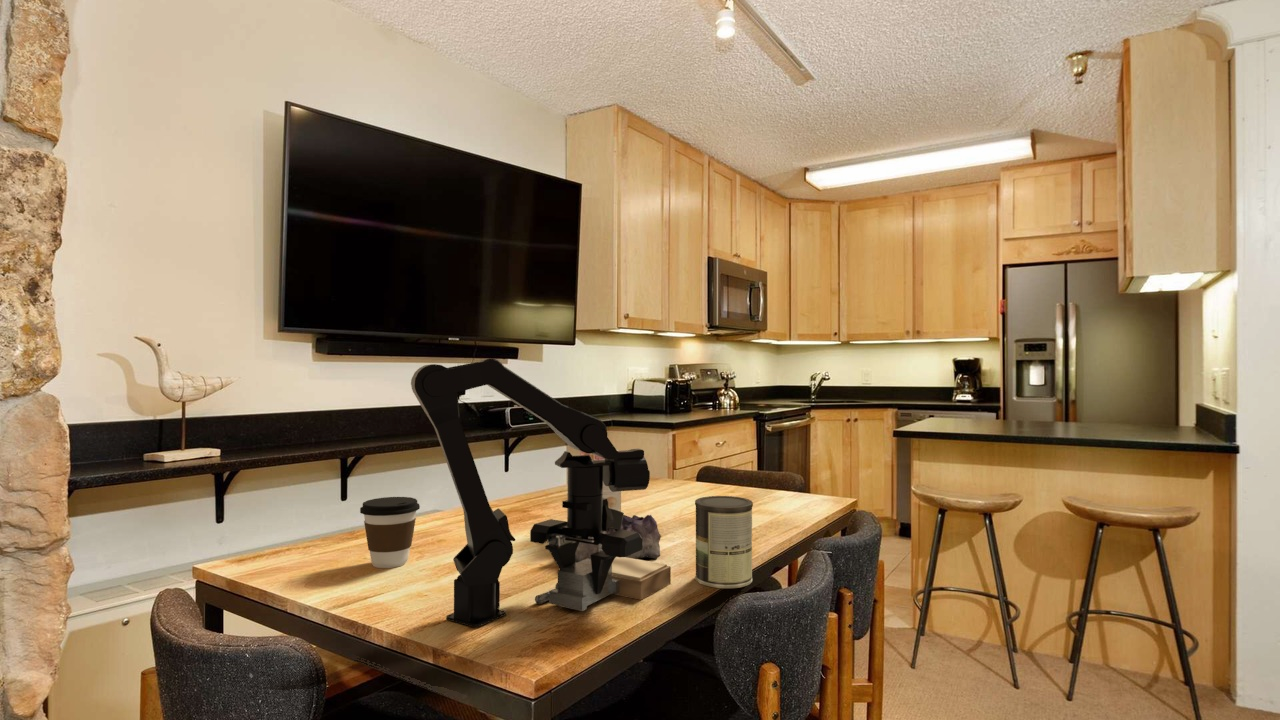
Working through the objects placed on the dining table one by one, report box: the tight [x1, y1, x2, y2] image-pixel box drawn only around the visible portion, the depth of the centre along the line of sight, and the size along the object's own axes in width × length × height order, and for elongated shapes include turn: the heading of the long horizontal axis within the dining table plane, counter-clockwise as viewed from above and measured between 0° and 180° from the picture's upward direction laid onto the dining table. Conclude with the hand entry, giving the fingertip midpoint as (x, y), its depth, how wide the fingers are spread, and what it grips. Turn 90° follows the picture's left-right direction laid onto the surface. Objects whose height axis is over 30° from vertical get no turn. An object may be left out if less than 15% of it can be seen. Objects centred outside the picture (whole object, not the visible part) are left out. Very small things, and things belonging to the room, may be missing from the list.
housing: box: [548, 558, 620, 612], centre depth 111 cm, size 10×6×5 cm, turn 148°
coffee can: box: [694, 495, 754, 589], centre depth 123 cm, size 10×10×14 cm
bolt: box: [534, 582, 558, 605], centre depth 112 cm, size 6×2×2 cm, turn 141°
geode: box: [575, 514, 662, 563], centre depth 136 cm, size 20×12×10 cm, turn 109°
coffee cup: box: [359, 496, 421, 569], centre depth 132 cm, size 11×11×12 cm
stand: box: [612, 557, 672, 601], centre depth 119 cm, size 10×12×3 cm
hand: (584, 590), depth 110 cm, fingers closed on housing, 5 cm apart
